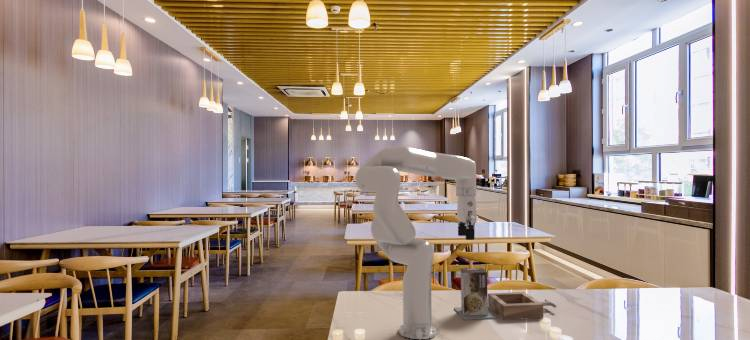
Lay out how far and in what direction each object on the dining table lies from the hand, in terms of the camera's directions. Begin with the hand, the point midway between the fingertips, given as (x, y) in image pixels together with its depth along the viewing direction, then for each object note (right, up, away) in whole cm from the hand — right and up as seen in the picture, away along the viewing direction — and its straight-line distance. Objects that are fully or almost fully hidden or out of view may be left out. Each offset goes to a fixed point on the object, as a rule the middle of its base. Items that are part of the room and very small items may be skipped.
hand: (466, 237), depth 151 cm
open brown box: (+23, -29, +1) cm, 36 cm away
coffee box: (+3, -28, -1) cm, 29 cm away
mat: (+3, -29, -1) cm, 29 cm away
